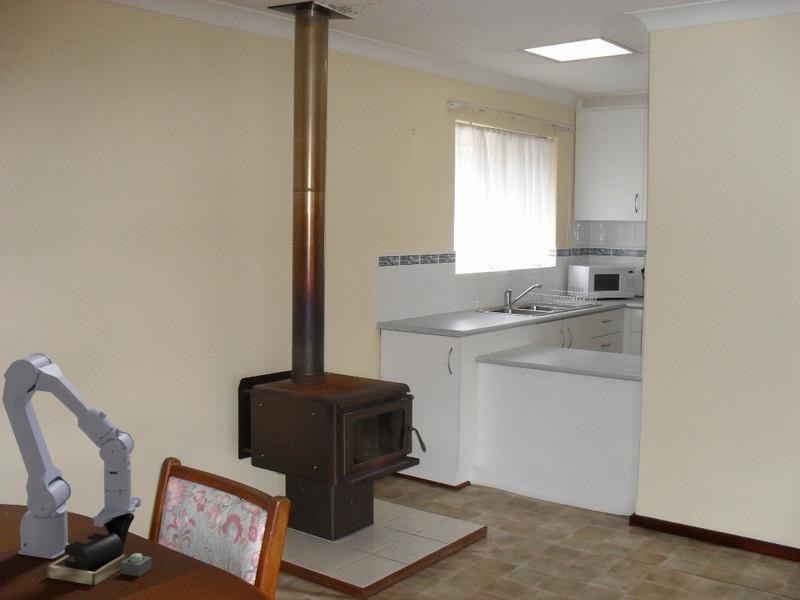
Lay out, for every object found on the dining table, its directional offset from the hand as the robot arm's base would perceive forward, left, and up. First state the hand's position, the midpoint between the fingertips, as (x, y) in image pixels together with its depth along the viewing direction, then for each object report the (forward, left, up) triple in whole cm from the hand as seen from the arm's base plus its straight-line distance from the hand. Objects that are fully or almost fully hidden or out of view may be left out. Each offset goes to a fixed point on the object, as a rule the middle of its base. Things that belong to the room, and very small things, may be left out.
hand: (118, 547), depth 191 cm
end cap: (+1, -10, -1) cm, 10 cm away
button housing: (+9, -7, -1) cm, 12 cm away
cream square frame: (0, -11, -1) cm, 11 cm away
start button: (+9, -7, -1) cm, 12 cm away
